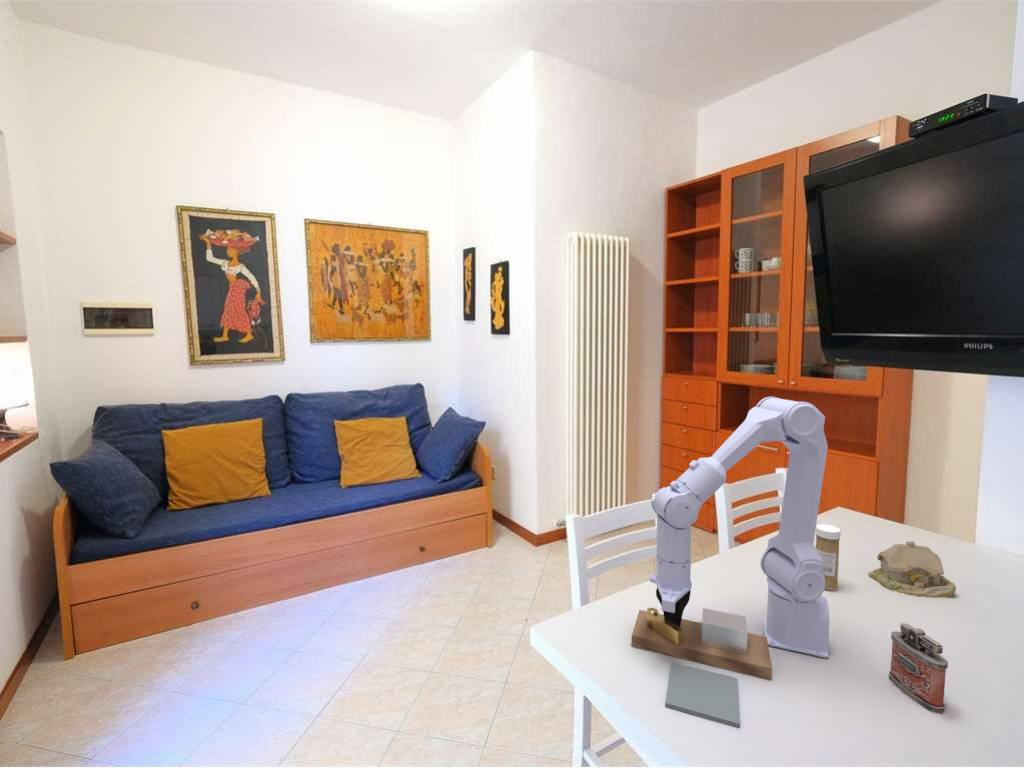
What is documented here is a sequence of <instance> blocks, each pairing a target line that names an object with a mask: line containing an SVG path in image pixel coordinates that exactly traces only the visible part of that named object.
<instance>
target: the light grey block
mask: <svg viewBox="0 0 1024 768" xmlns="http://www.w3.org/2000/svg"><path fill="white" fill-rule="evenodd" d="M701 623H702V644H701V645H704V646H708V647H712V648H717V649H721V650H725V651H730V652H734V653H739V654H743V655H747V633H749V632H748V624H747V617H746V616H744V615H740V614H736V613H735V614H733V613H731V612H725V611H719V610H714V609H711V608H710V609H709V608H705V607H703V608H702V619H701Z"/></svg>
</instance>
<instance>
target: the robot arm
mask: <svg viewBox="0 0 1024 768" xmlns="http://www.w3.org/2000/svg"><path fill="white" fill-rule="evenodd" d="M825 420H826V416H825V415H824V414H823V413H822V412H821V411H820V409H818V408H817V407H816V406H815V405H814V404H812V403H810V402H807V401H795V400H791V399H783V398H779V397H776V396H767V397H764V398H762V399H760V400H759V402H757V404H756V406H753V407H752V408H751V409H749V410H748V411H747V415H746V418H745V419H744V421H743V422H742V423H741V424H740V425H739V426H738V427H737V428H736V429H735V430H734V431H733V432H732V434H731V435H730V436H729V437H728V438H727V439H726V440H725V441H724V442H723V443H722V445H721V446H720V447H719V448H718V449H717V450H715V452H714V453H713V454H712V455H711V456H709V457H699V458H698V459H697V460H695V459H693V460H692V461H691V462H690V463H689V464H688V465H689V467H688V468H687V469H686V470H685V471H684V472H683V473H682V474H681V475H680V476H679V477H678V478H677V479H675V480H672V481H671V482H670V483H669V485H670V486H666V487H665V486H663V487H662V488H660V489H658V491H657V492H656V493H655V495H654V496H653V497H654V498H653V500H651V501H650V504H651V508H652V510H653V512H654V513H655V514H656V573H651V574H650V575H649V582H650V583H653V584H655V586H656V590H655V595H656V599H657V600H658V602H659V603H660V606H661V611H662V613H663V615H664V618H665V619H669V620H670V621H672V622H673V623H675V624H677V625H678V626H680V625H681V620H682V619H683V613H684V610H685V608H686V607H687V605H688V603H689V602H690V598H691V590H692V579H691V569H692V568H691V567H692V565H691V564H692V561H691V559H692V556H691V555H692V546H691V545H692V525H693V524H695V523H696V522H697V520H698V517H699V512H700V510H701V509H702V508H703V506H702V505H703V504H704V503H705V502H706V501H707V500H708V499H710V498H711V496H713V495H714V494H715V493H716V492H717V491H718V490H719V489H720V488H721V487H722V486H723V485H724V484H726V482H727V472H728V471H729V470H730V469H731V468H732V467H733V466H735V465H736V464H737V463H739V462H740V461H741V460H742V459H743V458H745V457H746V456H747V455H748V454H749V453H751V451H753V450H754V449H755V448H756V447H758V446H759V445H760V444H761V443H768V442H769V443H770V442H781V443H782V444H783V445H784V446H785V447H786V448H787V449H788V450H789V459H788V464H787V470H786V471H787V472H786V479H785V486H784V492H783V499H782V506H781V513H780V521H779V526H778V534H776V535H775V536H773V537H771V538H769V539H768V541H767V547H766V549H765V551H764V552H763V554H762V556H761V558H760V568H761V571H762V572H763V573H764V574H765V576H766V582H767V584H768V586H767V606H766V607H767V610H766V611H767V612H766V613H767V614H766V619H762V627H763V636H765V637H767V642H768V647H769V646H770V647H773V648H774V647H775V648H779V649H784V650H789V651H793V652H798V653H803V654H807V655H813V656H816V657H821V658H825V659H827V658H829V639H830V638H829V634H830V610H829V603H828V600H827V598H826V597H825V596H823V594H824V592H825V585H826V581H825V577H824V574H823V563H824V562H823V560H822V558H821V556H820V555H819V553H818V551H817V550H816V545H814V542H815V536H816V526H817V523H818V515H819V508H820V504H821V503H820V502H821V496H822V487H823V482H824V481H823V480H824V476H825V475H824V474H825V469H826V462H827V457H828V455H827V454H828V447H829V445H828V441H827V438H826V434H825V431H824V428H825V422H826V421H825Z"/></svg>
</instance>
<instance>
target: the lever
mask: <svg viewBox="0 0 1024 768" xmlns="http://www.w3.org/2000/svg"><path fill="white" fill-rule="evenodd" d="M646 611H647V626H648V627H649V628H652V629H654V630H655V631H657V632H658V633H660V634H661V635H663V636H664V637H666V638H667V639H668V640H670V641H671V642H673V643H674V644H676V645H677V646H678V645H680V644H683V643H684V629H683V628H681V627H680V626H678V625H677V624H675V623H673V622H672V621H670V620H669V619H665V618H664V616H662V615H663V614H661V613H660V612H659V610H658V609H657V608H654V607H648V608H647V609H646Z"/></svg>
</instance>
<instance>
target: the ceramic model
mask: <svg viewBox="0 0 1024 768" xmlns="http://www.w3.org/2000/svg"><path fill="white" fill-rule="evenodd" d="M905 542H906V543H905V544H903V543H896V544H892V545H891V546H890V547H888V548H887V549H885V550H884V551H880V552H879V553H878V554H877V557H876V558H877V560H878V561H880V565H879V566H880V568H876V569H873V570H872V571H869V572H868V577H870V578H872V579H873V580H875V581H876V582H877V583H879V584H880V585H881V586H882V587H883V588H884V589H887V590H890V591H892V592H895V591H896V592H895V593H898V592H899V594H902V593H904V594H903V595H905V594H907V595H906V596H910V595H913V596H912V597H921V596H925V597H924V598H935V597H948V598H950V597H949V596H952V597H953V596H954V595H955V593H956V591H957V590H956V589H957V586H956V585H955V583H953V582H952V581H951V580H949V579H948V578H946V577H945V576H944V574H945V573H944V568H943V565H942V564H943V563H942V560H941V558H940V557H939V555H938V554H937V553H935V552H933V550H932V549H931V548H930V547H928V546H924V545H916V542H914V541H908V540H907V541H905ZM914 595H916V596H914Z"/></svg>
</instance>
